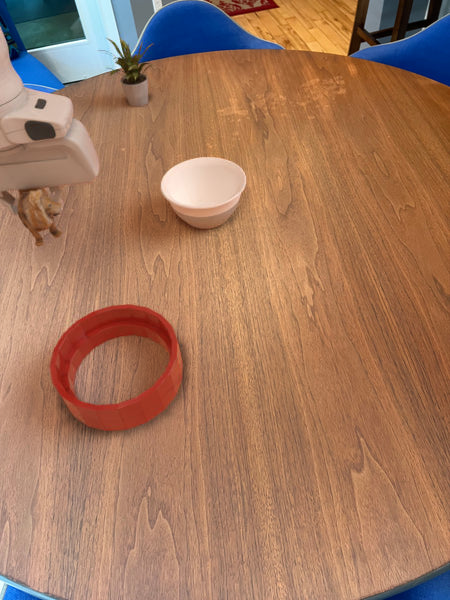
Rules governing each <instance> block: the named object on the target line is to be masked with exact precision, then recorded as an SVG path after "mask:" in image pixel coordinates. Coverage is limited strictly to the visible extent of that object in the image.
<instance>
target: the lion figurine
mask: <svg viewBox="0 0 450 600" xmlns="http://www.w3.org/2000/svg"><path fill="white" fill-rule="evenodd" d="M17 191H18V193H19V194H18V195H19V197H18V198H19V200H18V207H17V209H18V211H17V212H18V215H17V216H18V218H19V219H20V221H21V223H22V224H23V226H24V227H25V228H26V229H28V231H29V233H30V234H31V235H32V236H33V238H34V239H35V242H34V245H35V246H36V247H42V246H44V245H45V239H44V237H43V236H42V235H41V232H44V231H46V230H49V233H50V235H52V236H53V237H54V238H55V239H58V238H60V237H61V236H62V235H63V232H62V231H61V230H58V228H57V226H56V222H55V218H60V217H61V211H60V209H61V205H62V204H61V203H58V202H54V201H52V200H51V199H50V198H49V196H50V195H48V191H47V190H46V187H44V188H34V189H23V190H17ZM54 217H55V218H54Z"/></svg>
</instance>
